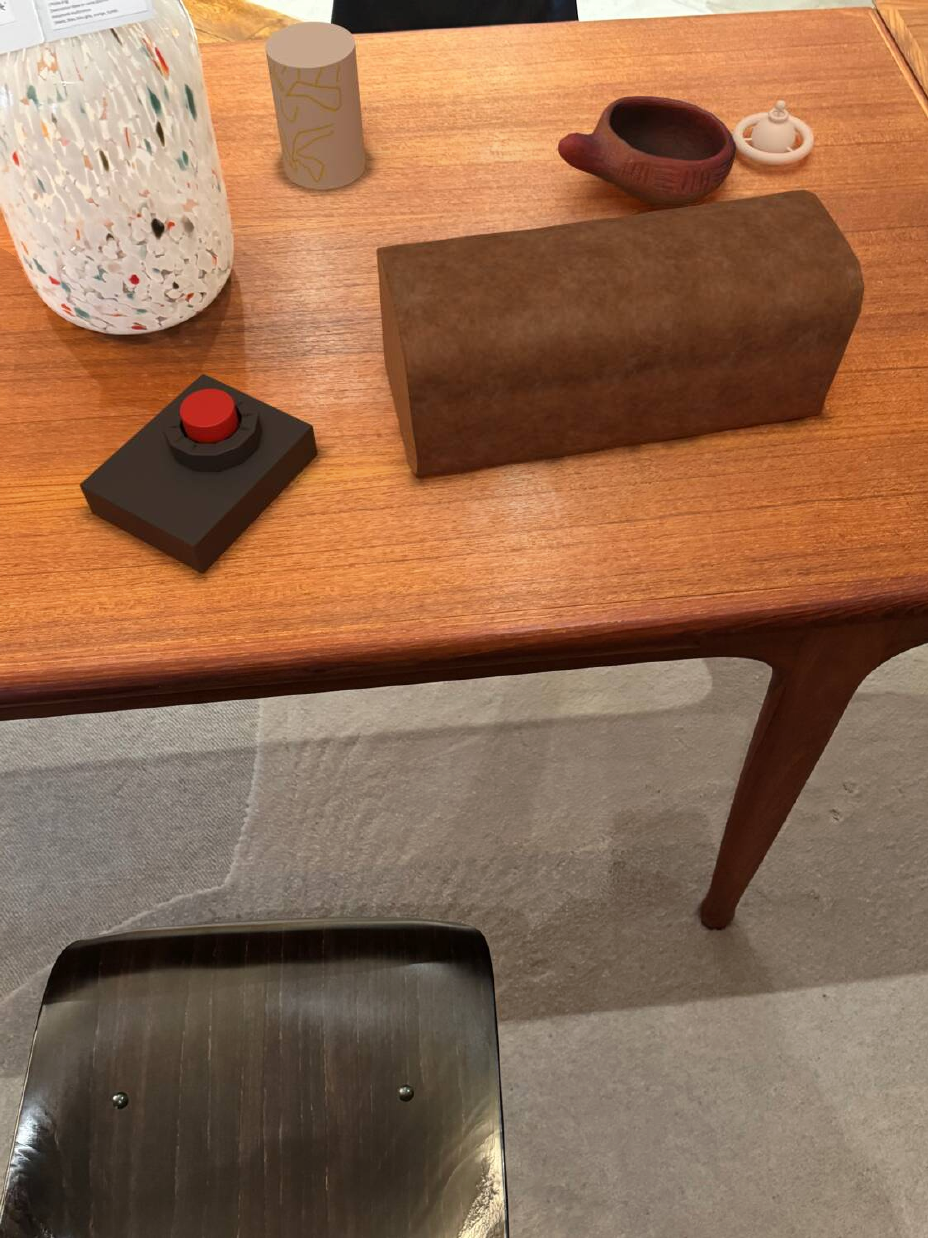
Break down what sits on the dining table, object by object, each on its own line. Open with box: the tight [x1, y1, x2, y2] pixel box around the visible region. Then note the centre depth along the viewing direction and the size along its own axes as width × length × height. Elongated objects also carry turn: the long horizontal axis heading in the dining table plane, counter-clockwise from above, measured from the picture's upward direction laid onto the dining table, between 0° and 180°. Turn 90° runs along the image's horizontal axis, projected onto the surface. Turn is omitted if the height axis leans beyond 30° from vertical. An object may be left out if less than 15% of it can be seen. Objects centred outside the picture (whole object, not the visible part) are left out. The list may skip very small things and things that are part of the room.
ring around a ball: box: [731, 99, 815, 166], centre depth 104 cm, size 8×6×8 cm
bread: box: [375, 189, 865, 479], centre depth 82 cm, size 14×34×14 cm, turn 102°
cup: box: [264, 21, 367, 191], centre depth 101 cm, size 8×8×12 cm
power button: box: [180, 389, 238, 443], centre depth 79 cm, size 4×4×2 cm
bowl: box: [557, 95, 737, 208], centre depth 99 cm, size 16×13×8 cm
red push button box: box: [79, 373, 319, 574], centre depth 80 cm, size 14×11×5 cm
